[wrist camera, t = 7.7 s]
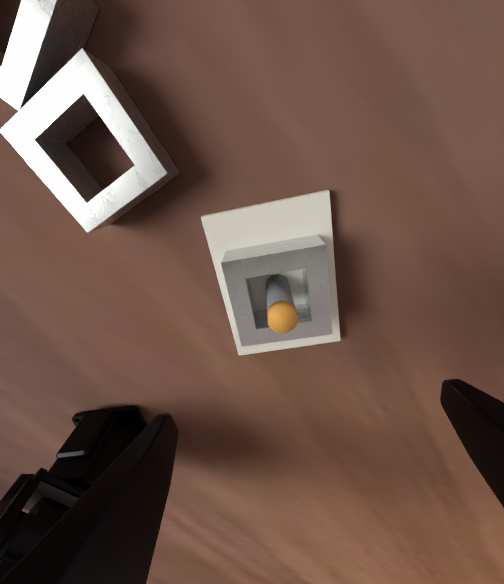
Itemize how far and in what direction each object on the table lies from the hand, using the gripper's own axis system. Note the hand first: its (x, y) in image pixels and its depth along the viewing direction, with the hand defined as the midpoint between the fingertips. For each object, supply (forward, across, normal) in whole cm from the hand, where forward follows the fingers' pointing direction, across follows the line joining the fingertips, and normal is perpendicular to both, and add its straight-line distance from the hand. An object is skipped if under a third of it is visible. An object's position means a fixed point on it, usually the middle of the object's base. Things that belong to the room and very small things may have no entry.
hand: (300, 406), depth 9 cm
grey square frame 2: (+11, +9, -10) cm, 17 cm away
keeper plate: (+11, 0, 0) cm, 11 cm away
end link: (+10, 0, 0) cm, 11 cm away
